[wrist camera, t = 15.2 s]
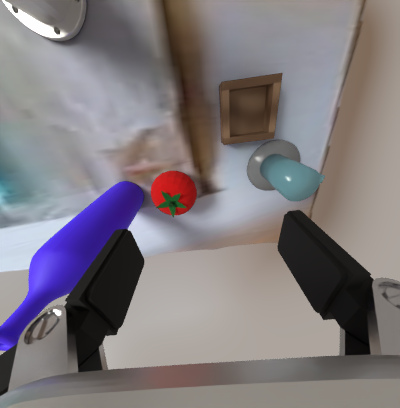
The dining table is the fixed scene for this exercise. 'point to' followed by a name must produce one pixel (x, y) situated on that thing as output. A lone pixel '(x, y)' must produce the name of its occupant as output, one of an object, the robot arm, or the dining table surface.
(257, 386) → the robot arm
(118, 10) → the dining table surface
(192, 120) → the dining table surface
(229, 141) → the cradle
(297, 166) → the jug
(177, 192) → the tomato
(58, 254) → the bottle
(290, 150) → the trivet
